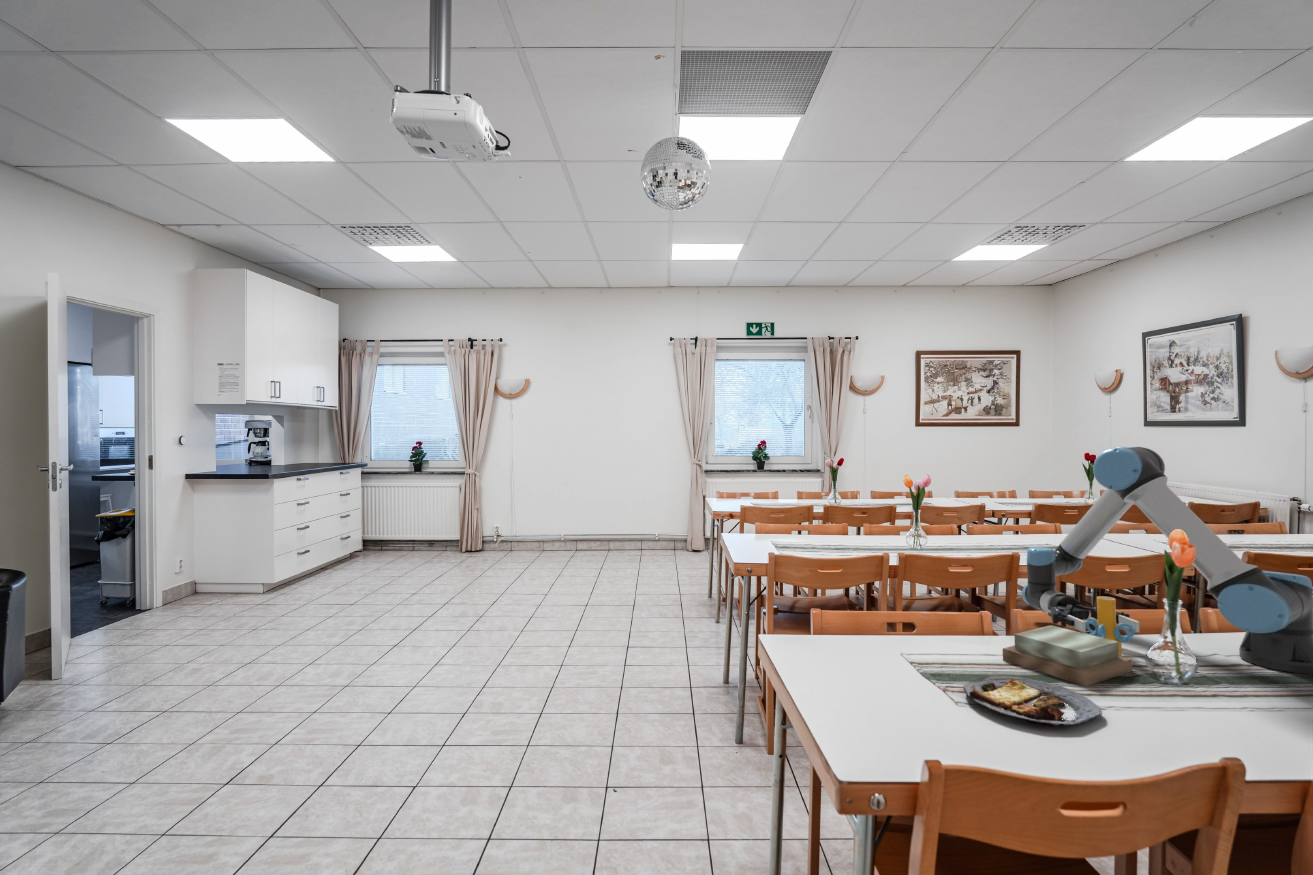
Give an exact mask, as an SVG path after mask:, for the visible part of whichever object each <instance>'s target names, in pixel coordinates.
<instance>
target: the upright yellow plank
mask: <svg viewBox="0 0 1313 875" xmlns="http://www.w3.org/2000/svg"><path fill="white" fill-rule="evenodd" d="M1116 602H1117V600H1116V598H1114V597H1111V596H1103V595H1102V596H1101V595H1100V596H1096V607H1097V620H1096V619H1094V618H1091V617H1090V618H1088V619H1087V620H1086V619H1085V626H1086V632H1082V631H1080V632H1081V633H1085V634H1089V635H1093V636H1097V637H1101V638H1105V639H1109V640H1114V641H1118V655H1119V656H1123V652H1122V651H1123V649H1122V648H1123V647H1122V643H1124V644H1125V643H1129V642H1130V641H1131V639H1132V638H1133V637H1134V636H1135V633H1136V632H1135V631H1134V628H1133V627H1132V626H1131V625H1129V624H1127V623H1120V624H1117V623H1116V612H1117V610H1116V609H1117V607H1116V606H1117V605H1116ZM1090 625H1092V626H1094V630H1093V629H1091V627H1090ZM1123 626H1127V627H1129V628H1130V629H1127V628H1125V627H1123ZM1120 630H1123V631H1124V632H1125V633H1126V635H1122V634H1121V633H1120ZM1129 630H1130V631H1129ZM1087 631H1088V632H1089V633H1088V632H1087Z"/></svg>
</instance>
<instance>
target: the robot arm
mask: <svg viewBox="0 0 1313 875" xmlns="http://www.w3.org/2000/svg"><path fill="white" fill-rule="evenodd" d="M1165 467H1166V466H1165V462H1164V459H1163V458H1162V457H1161V455H1160V454H1159V453H1157V452H1156V451H1155V450H1152V449H1150V448H1148V447H1142V446H1134V447H1125V446H1117V447H1114V448H1112V447H1111V448H1109V449H1106V450H1104V451H1103V452H1101V453H1100V454H1098V455H1097V457H1096V458H1095V459H1094V462H1093V468H1092V473H1093V476H1094V478H1095V480H1096V481H1097V483H1098V484H1100V485H1101V486H1102V487H1104V488H1106V490H1104V491H1103V493H1102V494H1101V495H1100V496H1099V498H1098V499H1096V501H1095V502H1094V504H1092V506H1091V507H1090V508H1089V509H1088V510H1087V512H1086V513H1085V514H1084V515H1083V516H1082V518H1081V519H1080V520H1079V521H1078V522H1077V523H1076V524H1075V526H1074V527H1073V528H1072V529H1071V530H1070V532H1069V533H1068V534H1067V535H1066V536H1065V537H1064V538H1063V540H1061V542H1060V543H1059V545H1057V547H1056V548H1055V549H1053V548H1050V547H1042V546H1031V547H1028V548H1027V551H1026V553H1027V554H1026V560H1025V561H1026V572H1027V573H1026V574H1027V583H1026V584H1025V585H1024V586H1023V588H1022V590H1021V598H1022V601H1024V603H1025V604H1027V605H1029V606H1030V607H1031V608H1033V609H1036V610H1038V611H1041V612H1044V613H1045V612H1048V614H1047V615H1048V616H1049V617H1050V618H1051V621H1052V623H1053V624H1054V625H1055V624H1056V625H1058V624H1059V623H1060V626H1061V628H1063V627H1064V628H1066V627H1067V626H1069V627H1070V628H1073V629H1075V630H1078V632H1081V631H1082V632H1086V633H1087V628H1086V626H1085V621H1086V620H1087V619H1088V618H1094V619H1096V620H1097V605H1096V606H1095V605H1093V606H1091V607H1089V606H1085V605H1083V604H1081V603H1080V601H1079V600H1078V599H1077V598H1075V597H1073V596H1071V595H1068V594H1065V593H1064V592H1061V591H1057V590H1056V589H1057V588H1056V587H1057V584H1056V583H1057V577H1058V576H1062V575H1069V574H1074V573H1075V572H1078V571H1079V570H1081V568H1082V567H1083V561H1084V559H1085V558H1086V557H1087V556H1088V554H1090V553H1091V551H1092V550H1093V549H1094V548H1095V547H1096V546H1097V545H1098V544H1099V543H1100V541H1101V540H1102V539H1103V538H1104V537H1106V535H1107V534H1108V532H1109V531H1110V530H1111V529H1112V528H1113V527H1114V525H1115V524H1117V523H1118V521H1119V520H1120V519H1121V518H1122V517H1123V515H1125V513H1126V512H1127V511H1128V510H1129V509H1130V508H1131V507H1132V506H1133V504H1134V505H1136V507H1137V508H1138V509H1139V510H1141V512H1142V513H1143V514H1144V515H1145V516H1146V517H1147V518H1148V519H1149V520H1150V522H1152V524H1154V526H1155V527H1156V528H1157V529H1158V530H1159V531H1160V532H1161V533H1162V534H1163V535H1164V536H1165V537H1166V538H1167V539H1168V540H1169V535H1170V533H1171V532H1172V531H1173V530H1175V529H1181V530H1183V531H1184V532H1185V533H1186V535H1187V537H1188V539H1189V543H1190V544H1192V545H1193V546H1194V547H1195V549H1196V556H1195V560H1194V562H1193V563H1191V565H1193V567H1195V569H1196V570H1197V571H1198V572H1199V573H1200V574H1201V575H1202V577H1204V578H1205V579H1206V581H1207V585H1206V586H1207V587H1206V589H1207V592H1209V593H1210V594H1211V595H1212V597H1213V598H1214V599H1215V600H1216V602H1217V608H1218V611H1219V613H1220V614H1221V616H1222V618H1224V619H1225V620H1226V622H1228V623H1229V624H1231V625H1232V626H1234V627H1236V628H1237V629H1240V630H1241V631H1245V634H1244V637H1243V638H1242V640H1241V643H1240V645H1239V648H1238V649H1239V651H1238V652H1239V655H1238V656H1239V658H1240V657H1241V658H1240V659H1241V660H1243V659H1244V660H1243V661H1245V662H1247V661H1248V663H1250V664H1252V663H1254V664H1253V665H1255V664H1256V665H1257V666H1260V667H1263V668H1268V669H1271V670H1276V671H1282V672H1288V673H1293V674H1294V673H1295V674H1305V675H1313V582H1312V579H1310V577H1308V576H1306V575H1301V574H1294V573H1285V572H1278V571H1272V570H1271V571H1268V570H1262V569H1261V568H1260V567H1259V566H1258V565H1255V564H1251V563H1250V564H1248V563H1246V562H1244V561H1243V560H1242V559H1241V558H1239V556H1238V555H1237V554H1236V553H1235V552H1234V551H1233V550H1232V549H1231V548H1230V547H1229V546H1228V545H1227V544H1226V543H1225V542H1224V541H1223V540H1222V539H1221V538H1220V537H1219V536H1218V535H1217V534H1216V533H1215V532H1214V531H1213V530H1212V529H1211V528H1210V527H1209V526H1208V525H1207V524H1206V523H1205V522H1204V521H1203V520H1202V519H1201V518H1200V517H1199V516H1197V514H1196V513H1195V512H1194V511H1192V509H1191V508H1190V507H1189V506H1188V505H1187V504H1186V503H1184V502H1183V500H1182V499H1181V498H1180V497H1179V496H1177V495H1176V494H1175V493H1174V491H1173V490H1172V489H1171V488H1169V486H1168V485H1167V484H1168V476H1166V475H1165V470H1166V468H1165ZM1084 620H1085V621H1084ZM1120 623H1127V624H1129V625H1131V626H1132V627H1133V628H1134V631H1135V633H1140V622H1139V621H1138V620H1136V619H1132V618H1131V617H1130V614H1129V613H1125V612H1124V611H1121V612H1120V611H1119V612H1118V611H1116V625H1118V624H1120ZM1123 627H1125V628H1127V629H1128V630H1130V628H1129V627H1127V626H1123ZM1082 632H1081V633H1082ZM1256 665H1255V666H1256Z"/></svg>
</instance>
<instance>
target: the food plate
mask: <svg viewBox="0 0 1313 875" xmlns="http://www.w3.org/2000/svg"><path fill="white" fill-rule="evenodd" d="M963 691H964V693H965V695H966V697H967V698H969V699H970V700H971V701H972V702H973V703H976V704H979V705H980V706H983V707H984V708H987V709H989V710H992V711H994V712H996V713H998V714H999V715H1001V714H1002V715H1004V716H1008V717H1011V718H1015V719H1020V720H1025V721H1030V722H1032V723H1035V724H1043V725H1044V724H1045V725H1047V724H1048V725H1049V726H1051V725H1052V726H1059V725H1060V724H1061V725H1062V724H1063V725H1064V726H1065V727H1068V726H1073V725H1080V724H1081V723H1084V722H1088V721H1089V720H1091V719H1094V718H1095V717H1096V716H1098V715H1100V716H1102V715H1103V710H1102V709H1101V708H1100V706H1098V705H1097V704H1096V703H1095V702H1093V701H1092V700H1091V699H1090V698H1088V697H1086V696H1084V695H1082V694H1081V693H1079V692H1076V691H1075V690H1072V689H1069V688H1067V687H1065V686H1060V685H1056V684H1052V683H1050V682H1045V681H1040V680H1034V679H1031V678H1024V677H1020V676H1019V677H1018V676H1008V675H1007V676H1005V675H1004V676H1003V675H1002V676H990V675H988V676H982V677H978V678H976V679H973V680H971V681H969V682H967V683H965V684H964V685H963ZM1037 698H1038V699H1037ZM1034 700H1035V701H1034ZM1033 702H1034V703H1033ZM1064 703H1065V704H1064ZM1032 704H1033V705H1032ZM1067 704H1068V705H1067ZM1066 705H1067V706H1068V707H1069V708H1070V707H1071V708H1070V709H1072V710H1073V712H1074V713H1076V715H1075V714H1074V715H1073V717H1075V718H1071V719H1072V720H1071V719H1070V720H1066V719H1068V717H1065V718H1063V717H1064V716H1063V715H1065V713H1066V712H1065V711H1063V710H1061V708H1064V707H1063V706H1066ZM1059 707H1060V709H1059ZM1062 716H1063V717H1062ZM1062 719H1063V720H1062ZM1073 719H1074V720H1073Z"/></svg>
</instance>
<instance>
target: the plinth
mask: <svg viewBox="0 0 1313 875" xmlns="http://www.w3.org/2000/svg"><path fill="white" fill-rule="evenodd" d="M1089 634H1090V633H1088V634H1085V633H1082V632H1081V631H1076V630H1072V629H1068V628H1065V627H1064V628H1063V627H1059V626H1057V625H1053V624H1052V625H1046V626H1042V627H1041V626H1040V627H1037V628H1035V629H1029V630H1025V631H1022V632H1018V633H1017V632H1016V633H1014V634H1013V635H1014V645H1010V646H1007V647H1003V648H1002V661H1004V662H1009V663H1011V664H1015V665H1018V666H1021V667H1024V668H1027V669H1030V670H1033V671H1036V672H1039V673H1043V674H1046V675H1049V676H1053V677H1055V678H1059V679H1061V680H1065V681H1068V682H1072V683H1075V684H1076V685H1077V684H1078V685H1079V686H1080V685H1081V686H1084V687H1089V686H1093V685H1095V684H1097V683H1101V682H1104V681H1107V680H1110V679H1113V678H1116V677H1119V676H1121V675H1124V674H1127V673H1128V674H1129V673H1131V672H1133V658H1130V657H1127V656H1123V655H1122V656H1119V655H1118V641H1114V640H1109V639H1105V638H1101V637H1097V636H1093V635H1089Z"/></svg>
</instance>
